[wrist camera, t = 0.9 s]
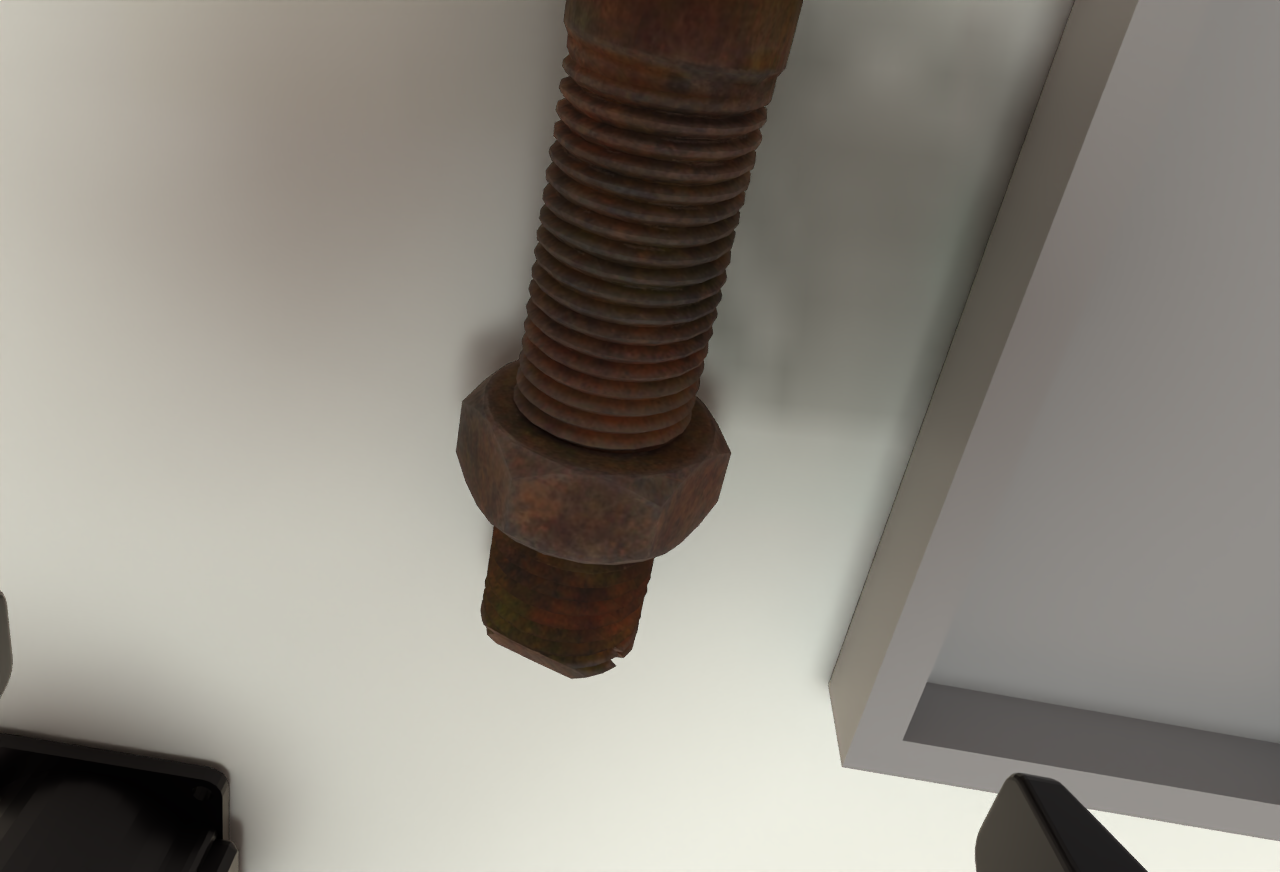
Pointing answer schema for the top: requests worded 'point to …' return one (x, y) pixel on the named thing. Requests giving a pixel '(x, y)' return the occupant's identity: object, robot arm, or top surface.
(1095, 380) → the parts tray
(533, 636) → the bolt
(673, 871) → the top surface
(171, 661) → the top surface
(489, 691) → the top surface
